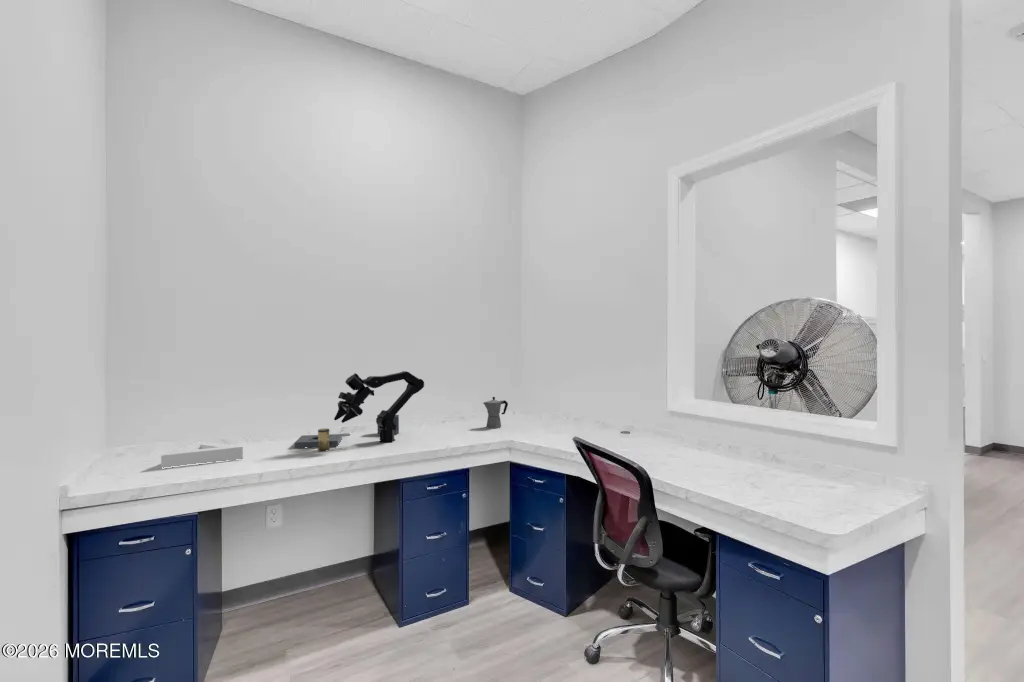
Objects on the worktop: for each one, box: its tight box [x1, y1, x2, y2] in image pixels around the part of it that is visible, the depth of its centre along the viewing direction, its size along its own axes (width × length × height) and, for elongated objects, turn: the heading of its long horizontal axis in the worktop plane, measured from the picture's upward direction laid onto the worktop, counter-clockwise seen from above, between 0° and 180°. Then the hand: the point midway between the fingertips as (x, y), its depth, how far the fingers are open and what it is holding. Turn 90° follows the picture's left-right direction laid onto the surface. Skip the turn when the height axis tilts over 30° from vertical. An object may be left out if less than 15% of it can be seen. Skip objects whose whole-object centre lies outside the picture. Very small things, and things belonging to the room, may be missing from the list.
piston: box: [317, 427, 330, 452], centre depth 252 cm, size 5×5×10 cm
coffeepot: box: [482, 396, 509, 429], centre depth 315 cm, size 15×9×18 cm, turn 109°
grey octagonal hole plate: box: [294, 433, 343, 449], centre depth 267 cm, size 20×18×3 cm
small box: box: [376, 414, 400, 436], centre depth 294 cm, size 11×6×10 cm, turn 84°
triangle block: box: [160, 440, 244, 468], centre depth 233 cm, size 30×26×6 cm
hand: (338, 421), depth 257 cm, fingers open, 9 cm apart
